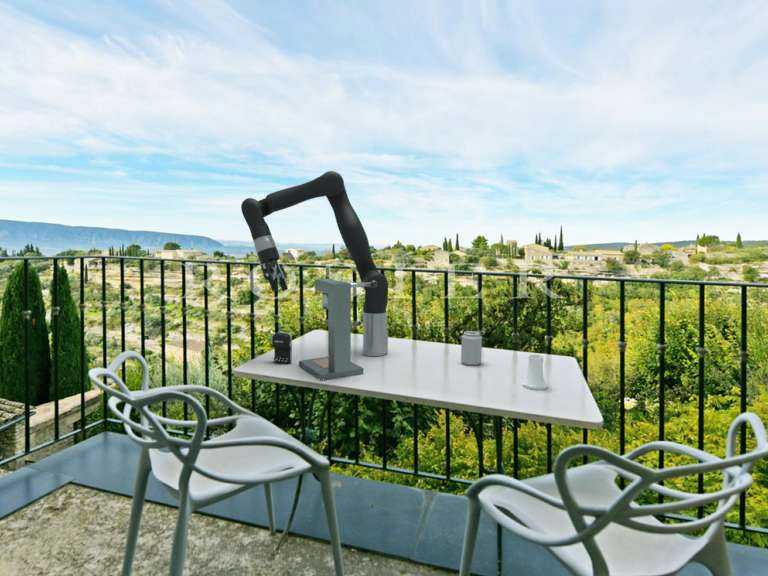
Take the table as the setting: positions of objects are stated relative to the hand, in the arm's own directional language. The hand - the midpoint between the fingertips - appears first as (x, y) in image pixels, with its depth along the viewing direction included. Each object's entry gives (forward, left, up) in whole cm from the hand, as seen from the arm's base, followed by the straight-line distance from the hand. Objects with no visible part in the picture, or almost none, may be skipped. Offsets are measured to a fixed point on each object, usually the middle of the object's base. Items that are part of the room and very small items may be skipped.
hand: (280, 290), depth 183 cm
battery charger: (+1, +3, -27) cm, 27 cm away
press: (-17, +20, -27) cm, 37 cm away
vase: (-61, +69, -27) cm, 96 cm away
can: (-61, +38, -27) cm, 77 cm away
